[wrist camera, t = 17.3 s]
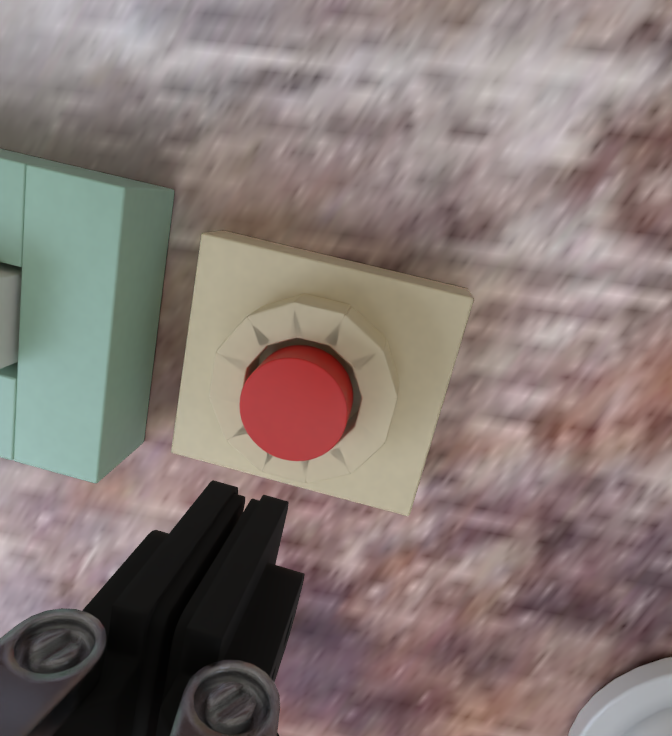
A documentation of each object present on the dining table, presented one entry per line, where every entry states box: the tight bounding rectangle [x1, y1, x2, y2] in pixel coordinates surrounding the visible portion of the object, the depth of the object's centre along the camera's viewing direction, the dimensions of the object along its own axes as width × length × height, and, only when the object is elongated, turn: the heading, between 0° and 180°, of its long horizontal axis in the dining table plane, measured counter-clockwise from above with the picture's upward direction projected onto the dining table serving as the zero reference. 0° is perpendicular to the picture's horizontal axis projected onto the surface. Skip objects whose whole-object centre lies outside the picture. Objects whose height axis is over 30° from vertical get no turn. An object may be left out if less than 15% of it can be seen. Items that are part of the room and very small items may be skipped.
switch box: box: [171, 230, 474, 516], centre depth 21 cm, size 10×9×4 cm
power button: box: [239, 345, 353, 461], centre depth 19 cm, size 4×4×2 cm
